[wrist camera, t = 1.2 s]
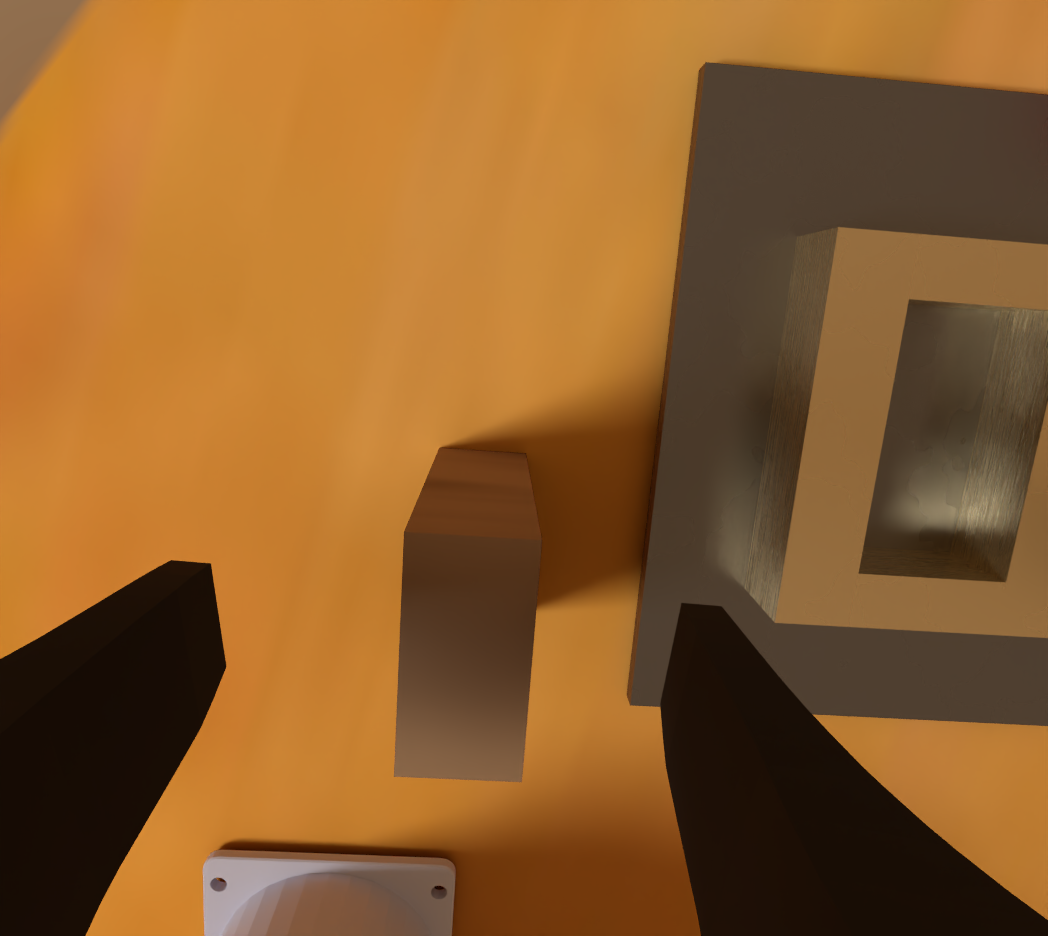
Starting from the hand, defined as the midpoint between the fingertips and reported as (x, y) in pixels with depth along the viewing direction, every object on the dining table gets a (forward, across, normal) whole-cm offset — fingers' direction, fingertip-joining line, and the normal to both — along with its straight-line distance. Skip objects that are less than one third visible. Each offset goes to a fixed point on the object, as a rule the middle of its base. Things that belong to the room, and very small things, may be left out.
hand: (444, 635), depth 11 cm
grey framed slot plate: (+11, -12, 0) cm, 16 cm away
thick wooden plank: (+9, 0, +4) cm, 10 cm away
